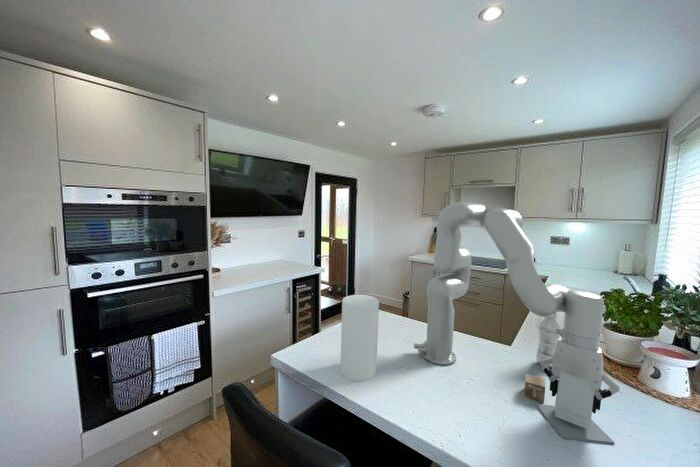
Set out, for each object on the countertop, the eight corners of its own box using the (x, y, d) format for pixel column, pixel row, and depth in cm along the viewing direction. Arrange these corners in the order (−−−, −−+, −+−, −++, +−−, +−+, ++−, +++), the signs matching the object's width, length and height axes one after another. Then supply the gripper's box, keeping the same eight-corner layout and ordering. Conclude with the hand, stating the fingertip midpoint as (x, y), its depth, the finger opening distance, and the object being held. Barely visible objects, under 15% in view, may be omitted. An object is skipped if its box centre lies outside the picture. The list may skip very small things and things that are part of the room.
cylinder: (353, 357, 106) (355, 292, 104) (382, 368, 99) (385, 299, 97) (332, 372, 96) (334, 300, 94) (363, 386, 89) (366, 309, 87)
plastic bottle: (561, 371, 101) (566, 317, 99) (540, 368, 102) (544, 315, 100) (552, 362, 107) (556, 311, 105) (532, 359, 108) (536, 309, 107)
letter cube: (524, 397, 86) (525, 381, 86) (524, 388, 91) (525, 373, 90) (543, 403, 83) (545, 387, 83) (543, 394, 88) (544, 378, 87)
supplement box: (590, 430, 71) (596, 383, 70) (554, 416, 75) (559, 371, 74) (588, 414, 77) (594, 370, 75) (555, 402, 81) (560, 360, 80)
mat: (562, 438, 70) (562, 436, 70) (535, 405, 82) (536, 404, 82) (614, 444, 69) (614, 442, 69) (580, 409, 81) (580, 408, 81)
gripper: (537, 332, 77) (532, 392, 79) (625, 357, 65) (617, 428, 67) (544, 324, 83) (538, 381, 84) (627, 347, 70) (618, 413, 72)
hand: (573, 401), depth 75 cm, fingers closed on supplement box, 8 cm apart
